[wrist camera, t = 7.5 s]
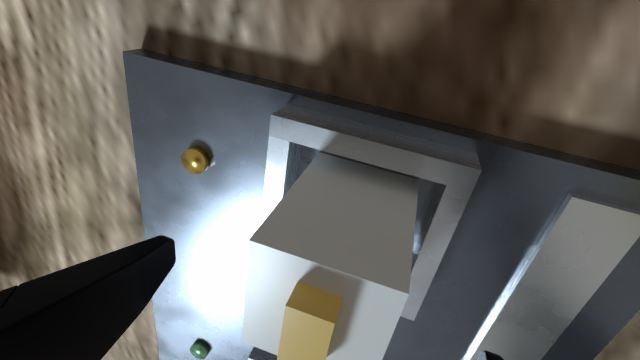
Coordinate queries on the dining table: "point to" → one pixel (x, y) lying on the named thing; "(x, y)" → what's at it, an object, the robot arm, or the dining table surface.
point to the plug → (332, 264)
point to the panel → (430, 227)
